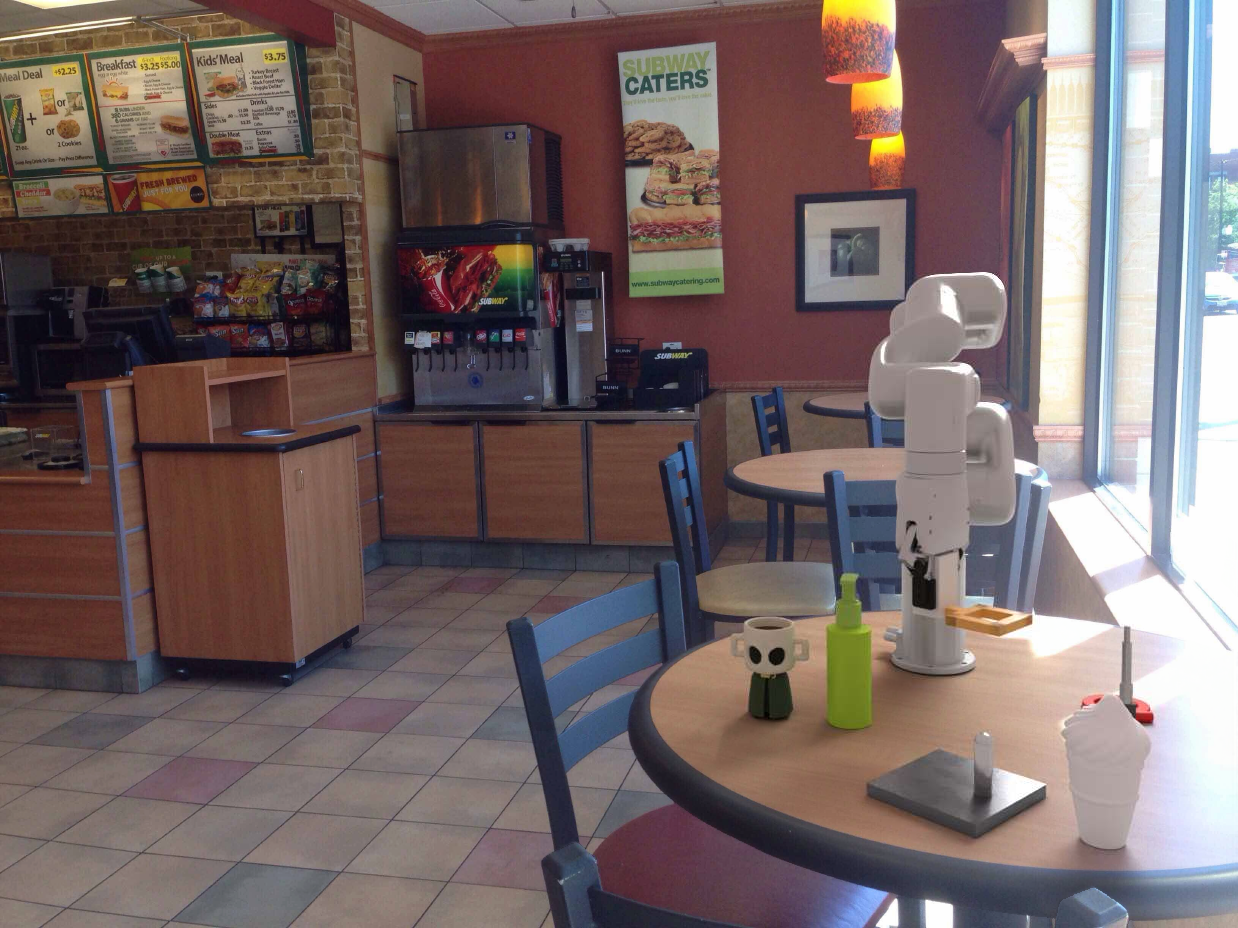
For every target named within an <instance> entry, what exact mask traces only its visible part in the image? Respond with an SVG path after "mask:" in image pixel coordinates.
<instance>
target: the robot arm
mask: <svg viewBox="0 0 1238 928" xmlns="http://www.w3.org/2000/svg"><path fill="white" fill-rule="evenodd" d="M905 296H906V297H905V301H903V302H901V303H899V304H897V305H896V306H895V307H894V308H893V310H892V311H891V314H890V317H889V333H890V334H889V335H888V336H886V337H885V338H884V339H882V341H880V343H879V344H878V345H877V346H876V348H875V350H874V352H873V354H872V357H871V360H870V367H869V374H868V375H869V377H868V386H867V387H868V389H867V390H868V391H867V393H868V402H869V405H870V406H869V407H870V409H871V411H872V413H874V414H875V415H876V416H878V417H879V418H881V419H885V420H904V468H903V469H902V470H901V471H900V472H899V474H898V475H897V477H896V482H895V496H896V497H895V498H896V504H897V508H896V522H895V523H896V525H895V548H896V550H897V551H898V552H899V553H898V557H897V558H898V561H899V562H900V563H901V627H898V626H893V625H888V626H887V628H886V629H885V632H884V634H883V640H884V641H886V642H891V643H895V645H896V646H895V649H894V650H892V652H891V661H892V663H893V664H895V666H896V667H898V668H901V669H903V670H906V671H909V672H913V673H916V674H917V673H918V674H925V675H937V676H938V675H955V674H961V673H965V672H969V671H970V670H972V669H973V668H975V666H976V661H977V660H976V656H975V655H974V654H973V653H972V652H971V651H969V650H967V649H966V629H962V628H958V627H953V626H949V625H945V617H944V618H941V619H937V618H933V617H928V616H923V615H919V614H914V613H913V606H914V607H918V608H923V609H927V610H934V609H935V608H936V579H932V577H933V569H934V560H935V555H937V554H941V553H945V552H948V551H955V552H958V601H957V607H961V608H966V567H967V566H966V565H967V564H966V563H967V559H966V553H965V551H966V550H967V549H968V547H969V545H970V544H971V543H970V537H969V536H970V526H1001V525H1004V524H1007V523H1009V522H1010V521H1011V520H1012V518H1013V517H1014V515H1015V512H1016V507H1017V482H1016V468H1015V467H1016V466H1015V465H1016V463H1015V451H1014V450H1015V447H1014V446H1015V445H1014V444H1015V443H1014V433H1013V426H1012V425H1013V424H1012V420H1011V417H1010V414H1009V412H1008V411H1007V409H1006V408H1004V407H1003V405H1000V404H998V403H995V402H980V399H981V390H982V389H981V388H982V387H981V379H980V376H979V375H978V374H977V373H976V371H975V370H974V368H973V367H972V366H971V365H969V364H967V363H964V362H957V361H953V360H954V359H956V357H958V356H959V354H960V353H961V352H962V350H969V349H971V350H973V349H975V350H976V349H978V350H980V349H989V348H991V347H994V346H996V345H997V344H998V343H999V342H1000V340H1001V338H1002V334H1003V331H1004V326H1005V321H1006V317H1007V310H1008V309H1007V308H1008V299H1007V292H1006V290H1005V286H1004V284H1003V283H1002V281H1001V280H1000V279H999V278H998V277H997V276H996V275H994V274H992V273H989V272H970V273H951V274H950V273H949V274H948V273H947V274H945V273H943V274H934V275H933V274H932V275H929V276H924V277H921V278H920V279H918V280H916V281H915V282H913V284H912V285H911V286H910V287H909V289H908V291H907V293H906V295H905ZM920 550H922V551H921V552H922V553H919V551H920ZM920 558H923V559H926V560H925V566H924V564H923V563H922V562H921V561H920V560H919V559H920Z"/></svg>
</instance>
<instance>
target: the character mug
mask: <svg viewBox="0 0 1238 928" xmlns="http://www.w3.org/2000/svg"><path fill="white" fill-rule="evenodd" d="M738 641H739V642H740V641H741V642H743V649H742V650H741V649H740V650H739V649H738ZM796 645H801V653H796ZM730 652H731V653H730V654H731V656H733V657H737V658H743V659H744V660H743V661H744V665H745V667H746V668H747V669H748V670H749V671H752V674H751V677H750V685H749V692H748V693H749V694H748V706H747V707H748V713H749V714H751V715H752V716H755V717H759V718H764V717H765V716H764V714H765V713H769V718H770V719H778V718H783V717H787V716H790V715H791V713H792V712H793V711H794V704H793V696H792V689H791V683H790V677H789V674H788V673H787V672H790V671H791V670H793V668H794V667H795V665H796V661H798V662H806V661H809V658H810V642H809V638H807V637H803V636H802V637H800V636H796V625H795V622H794V621H793V620H792V619H788V618H785V617H782V616H781V617H779V616H760V617H758V616H757V617H753V618H750V619H747V620H745V621H744V622H743V633H732V634H731V635H730Z"/></svg>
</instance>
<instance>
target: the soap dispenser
mask: <svg viewBox="0 0 1238 928" xmlns="http://www.w3.org/2000/svg"><path fill="white" fill-rule="evenodd" d="M859 577H860V576H859V573H848V572H847V573H845V572H844V573H842V575H841V577H840V579H839V585H840V586H841V598H839V599H837V600H836V601H835V622H833V623H829V624H828V625H826V628H825V629H826V635H825V636H826V697H827V698H826V699H827V700H826V701H827V702H826V705H827V708H826V709H827V714H826V716H827V722H828V723H829V724H830V725H832V726H833V727H836V728H840V729H845V730H858V729H864V728H867V727H869V726H870V725H872V721H873V718H872V716H873V715H872V713H873V711H872V709H873V707H872V706H873V701H872V697H873V696H872V690H873V689H872V627H871V626H870V625H868V624H866V623H862V602H861V601H860V600H858V599H857V598H856V588H855V586H856V581H857V579H858V578H859Z"/></svg>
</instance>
